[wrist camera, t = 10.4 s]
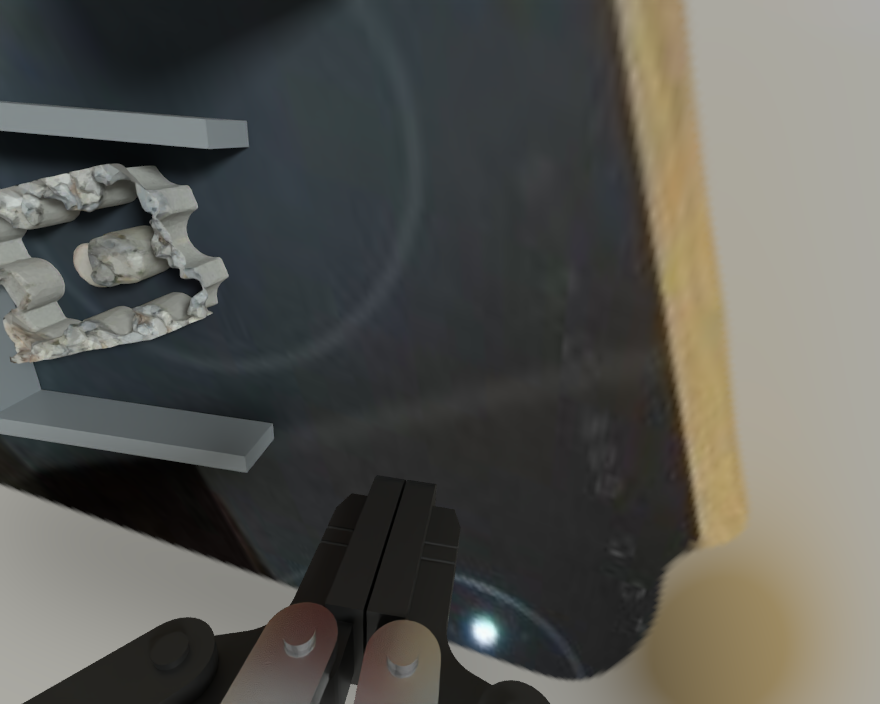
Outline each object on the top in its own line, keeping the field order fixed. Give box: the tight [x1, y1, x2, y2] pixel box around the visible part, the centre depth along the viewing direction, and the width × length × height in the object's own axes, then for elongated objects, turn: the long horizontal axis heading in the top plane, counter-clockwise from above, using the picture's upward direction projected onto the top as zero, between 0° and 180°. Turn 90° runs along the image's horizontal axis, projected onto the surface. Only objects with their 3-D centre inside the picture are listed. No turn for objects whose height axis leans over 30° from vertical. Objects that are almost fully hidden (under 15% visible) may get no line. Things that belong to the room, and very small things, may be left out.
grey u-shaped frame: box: [0, 101, 274, 473], centre depth 23 cm, size 16×15×3 cm
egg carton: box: [0, 164, 229, 364], centre depth 22 cm, size 11×8×4 cm
